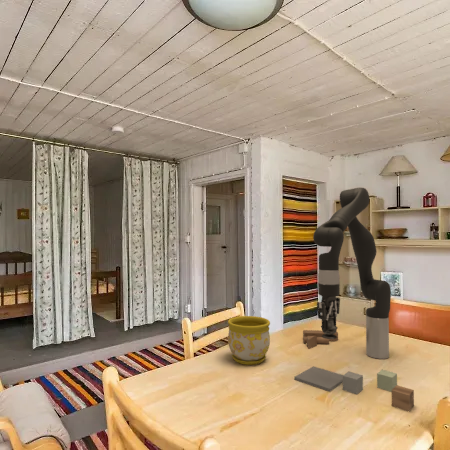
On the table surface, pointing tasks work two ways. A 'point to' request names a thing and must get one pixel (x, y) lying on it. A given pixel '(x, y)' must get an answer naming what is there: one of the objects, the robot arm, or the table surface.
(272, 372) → the table surface
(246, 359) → the flowerpot
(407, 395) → the walnut block
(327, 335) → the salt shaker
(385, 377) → the sage block
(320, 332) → the wooden block set
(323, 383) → the grey tile
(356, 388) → the grey block
